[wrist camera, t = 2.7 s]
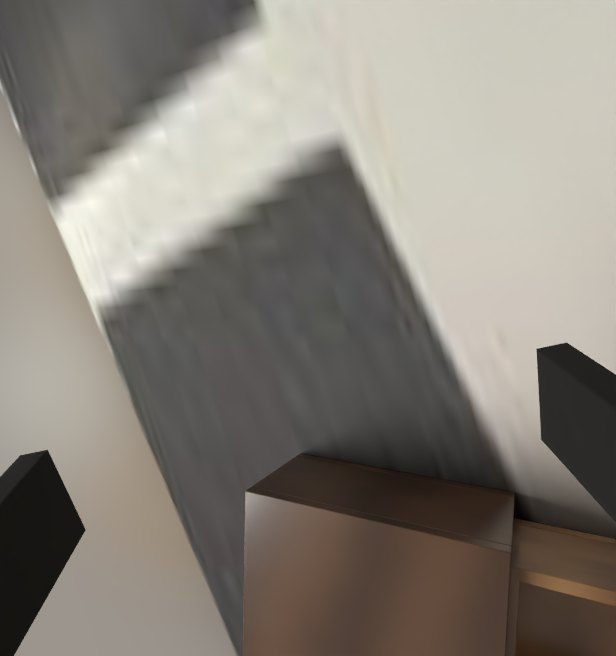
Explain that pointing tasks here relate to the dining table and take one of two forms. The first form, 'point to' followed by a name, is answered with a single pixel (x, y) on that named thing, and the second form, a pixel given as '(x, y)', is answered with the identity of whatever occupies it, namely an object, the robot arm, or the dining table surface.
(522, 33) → the dining table surface
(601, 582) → the drawer
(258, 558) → the cabinet
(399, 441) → the dining table surface
